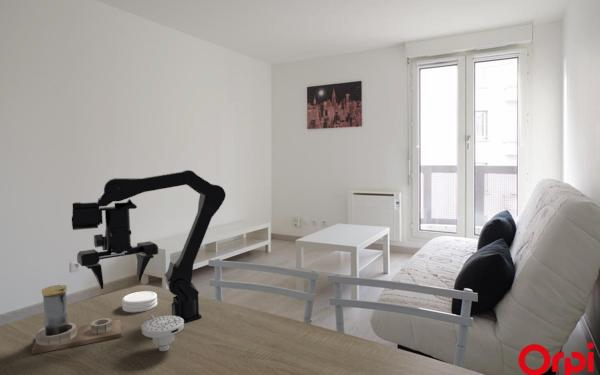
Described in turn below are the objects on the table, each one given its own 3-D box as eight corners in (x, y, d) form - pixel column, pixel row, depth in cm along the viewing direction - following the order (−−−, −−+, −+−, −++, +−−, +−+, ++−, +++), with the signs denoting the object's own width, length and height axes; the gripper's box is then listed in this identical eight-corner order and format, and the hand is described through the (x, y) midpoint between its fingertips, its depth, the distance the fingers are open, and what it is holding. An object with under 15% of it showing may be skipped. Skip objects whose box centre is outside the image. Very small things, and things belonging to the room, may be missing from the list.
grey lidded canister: (60, 331, 101) (57, 284, 100) (74, 334, 99) (71, 286, 98) (39, 340, 97) (36, 290, 96) (54, 343, 95) (51, 293, 94)
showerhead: (167, 308, 100) (191, 317, 94) (168, 336, 100) (192, 346, 94) (131, 320, 92) (156, 331, 86) (133, 350, 93) (157, 363, 87)
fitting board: (120, 322, 109) (119, 312, 109) (121, 337, 100) (120, 325, 100) (38, 337, 101) (38, 325, 100) (32, 354, 92) (31, 341, 91)
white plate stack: (163, 302, 125) (163, 291, 125) (144, 314, 115) (144, 302, 115) (136, 300, 127) (135, 289, 127) (115, 312, 117) (114, 300, 117)
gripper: (143, 219, 115) (146, 271, 116) (71, 227, 103) (74, 285, 104) (157, 223, 106) (160, 280, 107) (80, 232, 94) (83, 296, 95)
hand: (120, 285), depth 104 cm, fingers open, 9 cm apart
